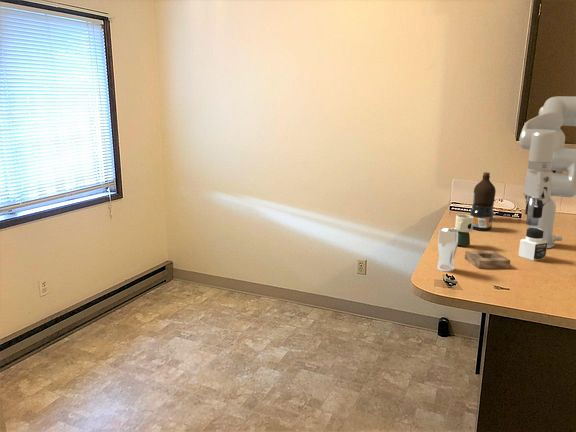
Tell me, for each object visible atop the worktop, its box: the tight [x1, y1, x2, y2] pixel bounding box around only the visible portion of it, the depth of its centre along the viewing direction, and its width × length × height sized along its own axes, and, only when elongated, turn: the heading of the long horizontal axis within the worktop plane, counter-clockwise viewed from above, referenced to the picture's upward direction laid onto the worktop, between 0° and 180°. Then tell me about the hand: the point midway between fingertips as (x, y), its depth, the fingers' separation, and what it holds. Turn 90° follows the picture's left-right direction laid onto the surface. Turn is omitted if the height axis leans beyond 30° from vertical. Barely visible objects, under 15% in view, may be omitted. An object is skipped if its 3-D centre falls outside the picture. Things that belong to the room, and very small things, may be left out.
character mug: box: [454, 214, 474, 247], centre depth 213 cm, size 11×7×13 cm, turn 145°
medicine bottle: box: [518, 227, 548, 262], centre depth 198 cm, size 7×7×12 cm
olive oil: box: [472, 171, 497, 212], centre depth 261 cm, size 11×11×25 cm
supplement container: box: [469, 203, 494, 232], centre depth 243 cm, size 10×10×12 cm
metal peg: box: [525, 197, 541, 226], centre depth 181 cm, size 4×4×10 cm
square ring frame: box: [464, 250, 511, 269], centre depth 191 cm, size 12×12×3 cm
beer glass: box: [436, 227, 458, 273], centre depth 182 cm, size 7×7×15 cm
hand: (533, 215), depth 181 cm, fingers closed on metal peg, 4 cm apart
